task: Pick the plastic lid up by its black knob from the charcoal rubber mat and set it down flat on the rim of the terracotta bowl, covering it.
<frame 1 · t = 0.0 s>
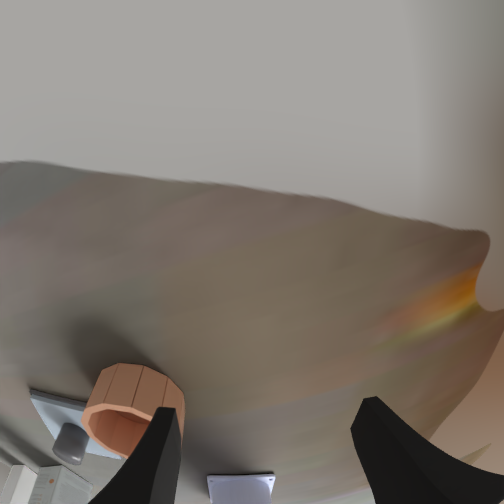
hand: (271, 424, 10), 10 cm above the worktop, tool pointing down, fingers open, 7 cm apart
lid: (77, 428, 23), resting on mat
bowl: (139, 397, 22), on the worktop
small box: (66, 475, 28), on the worktop
milk: (30, 473, 29), on the worktop
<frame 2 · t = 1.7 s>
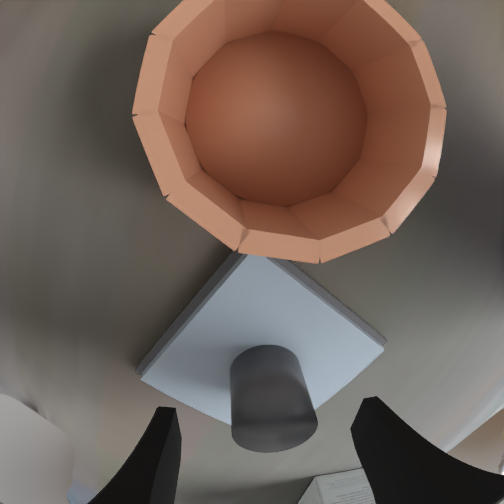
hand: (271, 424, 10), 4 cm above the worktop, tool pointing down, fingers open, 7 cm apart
lid: (263, 363, 13), resting on mat
bowl: (278, 115, 10), on the worktop
small box: (334, 486, 21), on the worktop
mat: (262, 358, 14), on the worktop
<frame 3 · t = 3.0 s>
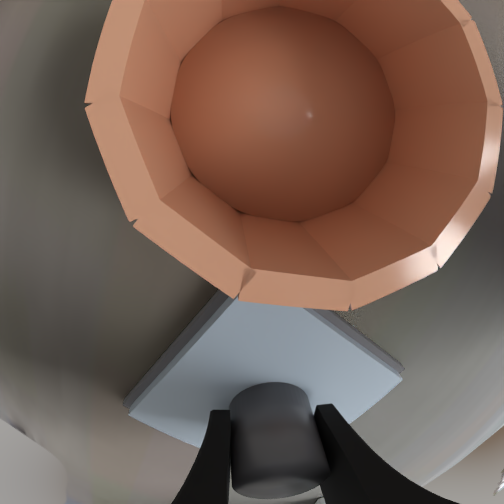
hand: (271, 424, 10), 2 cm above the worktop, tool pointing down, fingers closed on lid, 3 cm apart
lid: (267, 398, 11), resting on mat, touching gripper
bowl: (288, 108, 8), on the worktop
mat: (266, 392, 12), on the worktop
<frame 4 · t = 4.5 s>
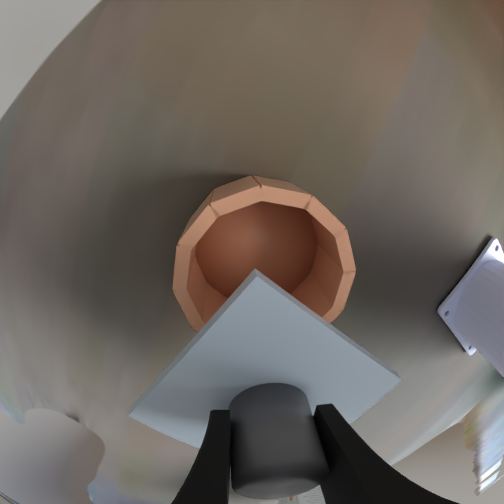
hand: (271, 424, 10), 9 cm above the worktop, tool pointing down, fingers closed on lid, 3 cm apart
lid: (267, 399, 11), point 7 cm above the worktop, touching gripper
bowl: (256, 247, 17), on the worktop
small box: (307, 478, 27), on the worktop
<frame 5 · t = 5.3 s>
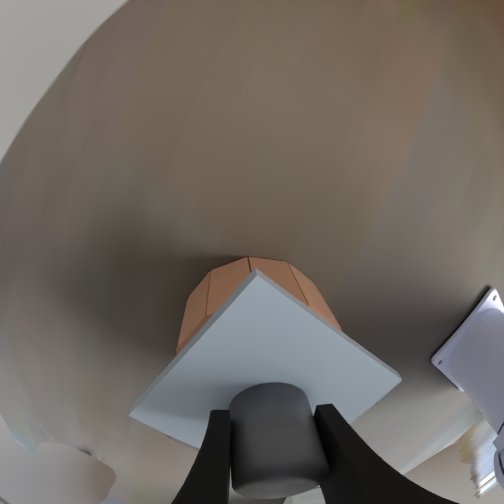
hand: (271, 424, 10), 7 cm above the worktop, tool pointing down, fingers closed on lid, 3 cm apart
lid: (267, 399, 11), point 6 cm above the worktop, touching gripper
bowl: (254, 322, 17), on the worktop
small box: (306, 497, 27), on the worktop
when the fingers open (7 cm above the worktop, at t = 5.8 s): lid drops 1 cm, resting on bowl.
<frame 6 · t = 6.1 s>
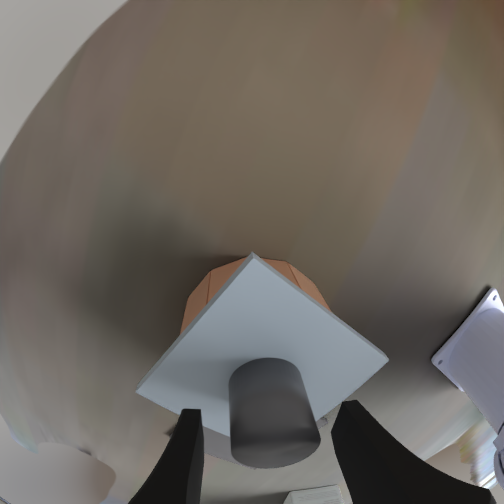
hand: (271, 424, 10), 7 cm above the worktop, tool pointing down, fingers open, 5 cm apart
lid: (263, 375, 13), point 4 cm above the worktop, touching bowl
bowl: (254, 322, 17), on the worktop
small box: (306, 497, 27), on the worktop
mat: (248, 431, 20), on the worktop
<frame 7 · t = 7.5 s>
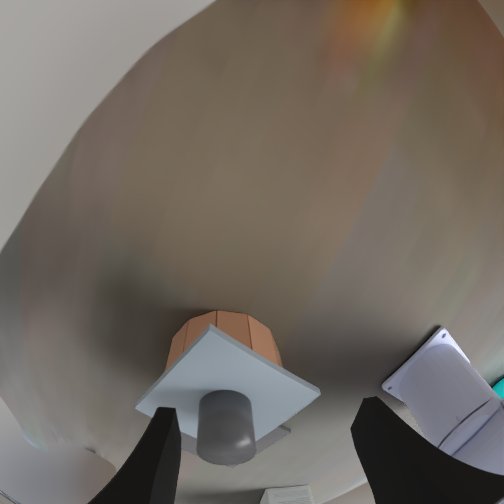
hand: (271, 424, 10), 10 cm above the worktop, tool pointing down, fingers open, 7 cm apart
lid: (225, 400, 17), point 4 cm above the worktop, touching bowl
donuts: (492, 395, 30), on the worktop
bowl: (224, 355, 21), on the worktop
small box: (282, 495, 32), on the worktop
mat: (224, 436, 25), on the worktop
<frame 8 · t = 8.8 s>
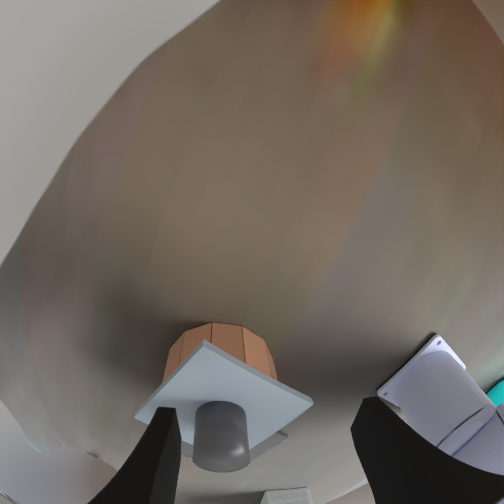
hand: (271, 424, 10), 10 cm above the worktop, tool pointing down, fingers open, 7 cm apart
lid: (220, 409, 17), point 4 cm above the worktop, touching bowl
donuts: (490, 398, 30), on the worktop
bowl: (220, 365, 21), on the worktop
small box: (282, 497, 32), on the worktop
mat: (223, 441, 25), on the worktop
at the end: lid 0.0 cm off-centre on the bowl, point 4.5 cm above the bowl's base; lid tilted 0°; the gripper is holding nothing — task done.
